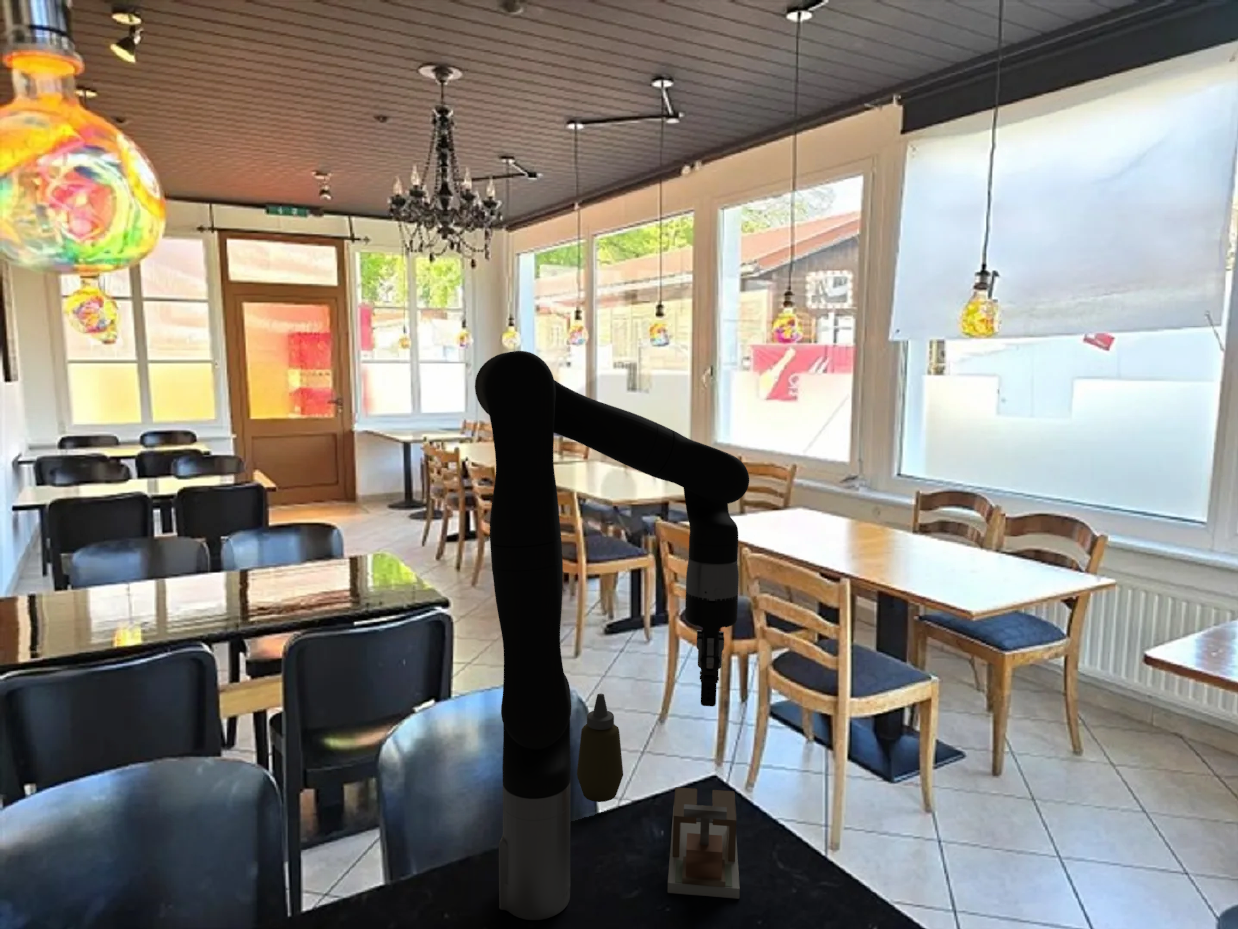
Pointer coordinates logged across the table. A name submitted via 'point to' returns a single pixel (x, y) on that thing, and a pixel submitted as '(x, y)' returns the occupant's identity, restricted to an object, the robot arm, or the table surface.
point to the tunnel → (716, 827)
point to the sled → (704, 849)
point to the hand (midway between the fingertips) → (708, 704)
